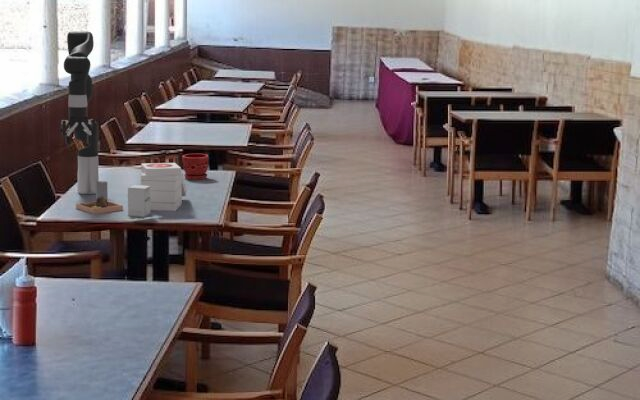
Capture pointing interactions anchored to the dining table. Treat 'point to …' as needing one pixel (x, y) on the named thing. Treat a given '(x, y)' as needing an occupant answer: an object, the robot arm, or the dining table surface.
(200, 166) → the plant pot
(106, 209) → the tray
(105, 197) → the disc
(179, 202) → the pizza boxes
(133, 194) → the supplement box
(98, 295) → the dining table surface
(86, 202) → the walnut block
